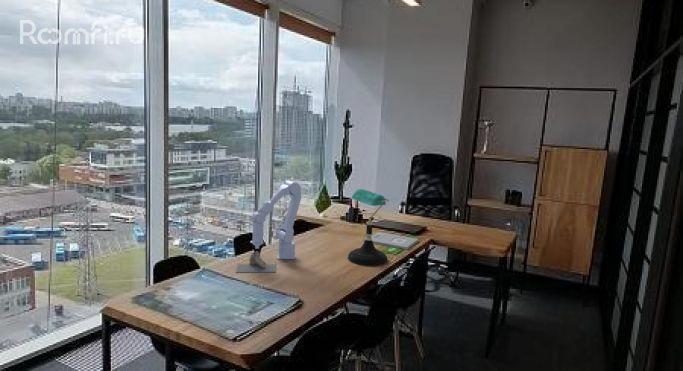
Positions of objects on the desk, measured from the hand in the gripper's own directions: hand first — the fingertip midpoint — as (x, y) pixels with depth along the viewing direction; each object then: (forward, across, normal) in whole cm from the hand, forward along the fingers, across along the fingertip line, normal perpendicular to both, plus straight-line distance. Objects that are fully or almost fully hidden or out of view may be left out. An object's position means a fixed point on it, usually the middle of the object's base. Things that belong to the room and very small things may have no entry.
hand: (257, 257), depth 238 cm
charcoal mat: (+2, +12, 0) cm, 12 cm away
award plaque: (+2, -41, +88) cm, 97 cm away
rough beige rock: (+2, +7, 0) cm, 8 cm away
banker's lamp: (+2, -3, +63) cm, 63 cm away
